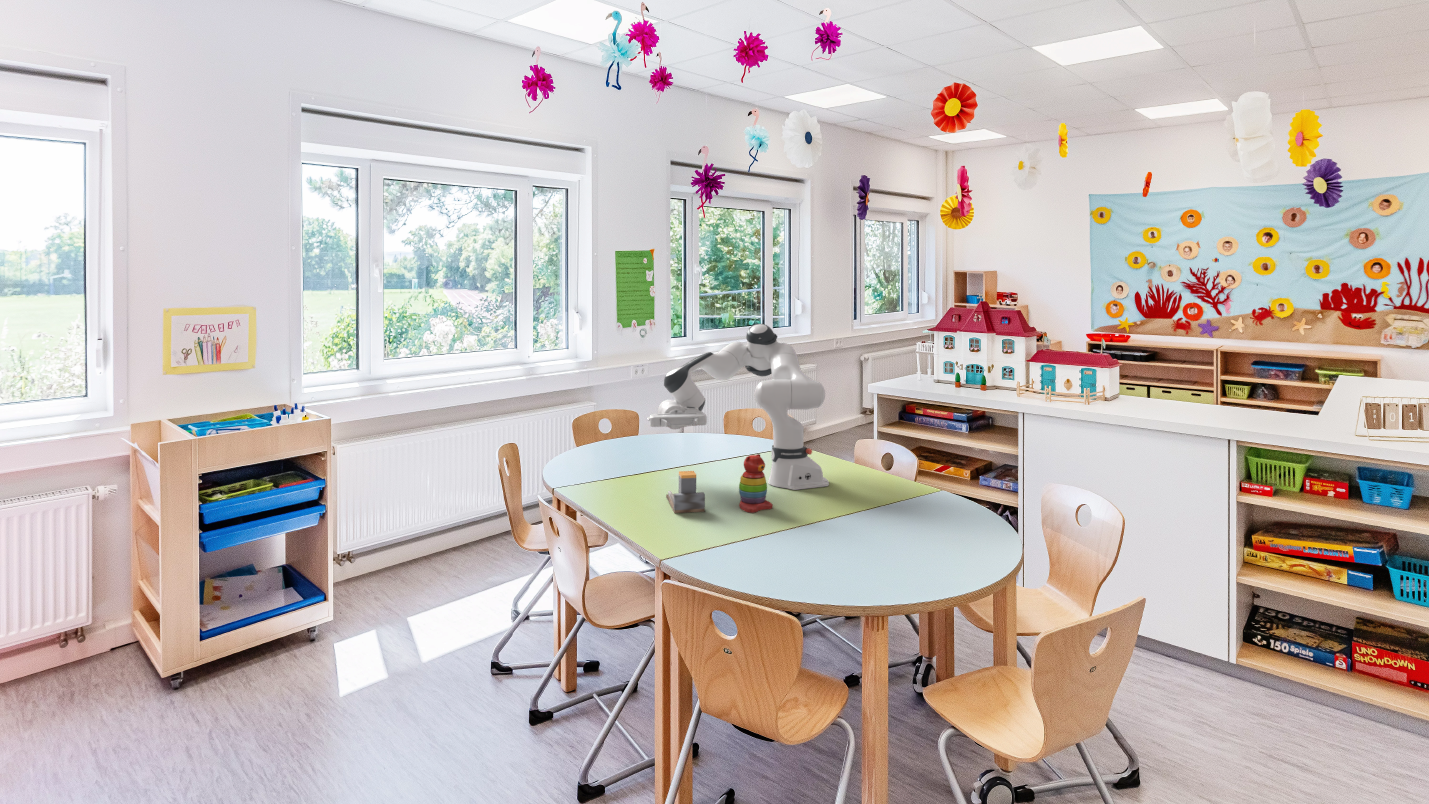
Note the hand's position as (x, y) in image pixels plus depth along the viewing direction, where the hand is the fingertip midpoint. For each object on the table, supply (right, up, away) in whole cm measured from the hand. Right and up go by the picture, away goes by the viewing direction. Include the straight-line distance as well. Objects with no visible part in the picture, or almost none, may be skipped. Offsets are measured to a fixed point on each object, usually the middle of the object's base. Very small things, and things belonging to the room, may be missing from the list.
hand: (681, 424), depth 264 cm
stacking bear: (+24, -28, -8) cm, 38 cm away
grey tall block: (+2, -27, -10) cm, 29 cm away
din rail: (+1, -27, -6) cm, 27 cm away
